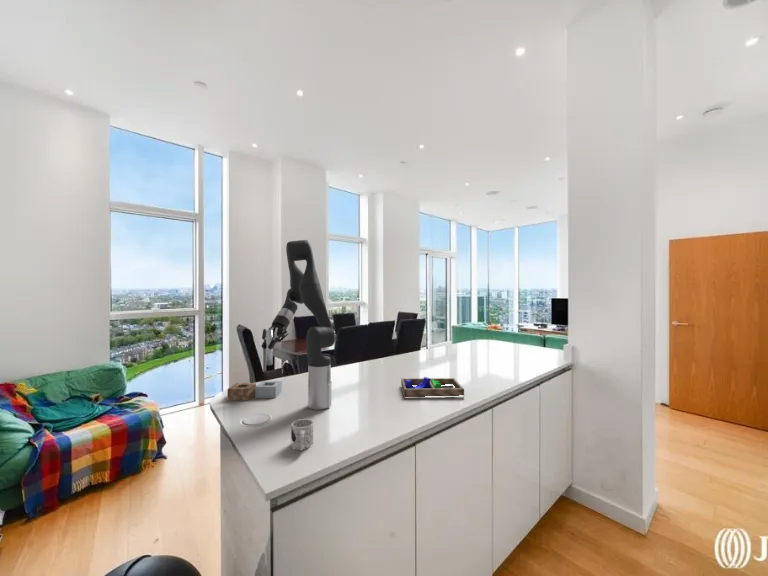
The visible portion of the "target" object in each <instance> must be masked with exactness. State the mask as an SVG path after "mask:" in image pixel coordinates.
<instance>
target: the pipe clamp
mask: <svg viewBox="0 0 768 576" xmlns="http://www.w3.org/2000/svg"><path fill="white" fill-rule="evenodd" d="M431 383H432V384H433V386H434V388H435V389H441V388H442V387H441V384H440V381H434V379H431Z"/></svg>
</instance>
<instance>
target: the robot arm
mask: <svg viewBox="0 0 768 576" xmlns="http://www.w3.org/2000/svg"><path fill="white" fill-rule="evenodd" d="M285 246H286V247H285V248H286V249H285V250H286V259H287V266H288V270H289V287H290V288H289V289H288V290H287V293H286V297H285V300H284V304H283V305H282V307H281V308H280V310H279V311H278V312H277V314H276V315H275V317H274V319H273V321H271V322H272V323H271V326H270V327H269V328H268V329H266V328H263V330H262V334H261V335H262V336H261V338H262V340H263V342H262V344H261V348H262V349H263V350H266V330H273V339H272V340H273V341H271V342H270V344H269V346H268V348H269V349H272V348H273V349H274V347H275V345H276V344H278V343H281V342H282V341H283V340H284V339H285V338H286V337H287V336H289V332H288V331H287V329H288V327H289V326H290V324H291V322H292V320H293V317H294V316H295V313H296V312H297V310H298V309H299V308H298V304H300V305H302V304H304V306H305V307H306V308H307V309H308V311H309V312H310V313H312V315H313V316H314V317H315V318H314V319H316V322H317V325H318V326H311V327H310V328H308V330H307V332H306V336H305V337H306V339H305V340H306V358H307V362H308V363H307V364H308V366H307V367H308V373H307V374H308V375H307V376H308V377H307V380H308V382H307V383H308V384H307V387H308V389H307V391H308V392H307V394H308V395H307V406H308V409H310V410H317V411H318V410H325V409H330V407H331V406H332V391H333V390H332V387H333V386H332V380H331V379H332V377H331V376H332V371H331V369H332V367H331V366H332V360H331V357H330V356H328V355H324V354H322V349H325V348H326V349H327V348H331V347H332V346H334V345H335V341H336V333H335V329H334V327H333V324H332V321H331V319H330V316H329V314H328V310H327V306H326V302H325V299H324V295H323V291H322V286H321V284H320V280H319V277H318V274H317V270H316V269H317V268H316V265H315V259H314V255H313V250H312V249H313V248H312V245H311V242H310V241H309V240H307V239H301V240H291V241H288V242H287V243H286V245H285ZM299 261H306V265H305V270H304V272H303V271H302V270H301V269H300V268H299V267H298V265H297V264H296V262H299Z"/></svg>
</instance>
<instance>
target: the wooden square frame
mask: <svg viewBox="0 0 768 576" xmlns="http://www.w3.org/2000/svg"><path fill="white" fill-rule="evenodd" d="M256 386H257V383H256V382H237V383H235V384H233V385H231V386H229V388H227V395H226V396H227V400H229V401H250V400H251V399H252V398H253V397H254V396H255V388H256ZM227 400H226V401H227Z"/></svg>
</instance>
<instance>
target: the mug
mask: <svg viewBox="0 0 768 576" xmlns="http://www.w3.org/2000/svg"><path fill="white" fill-rule="evenodd" d="M290 426H291V428H290V429H291V431H290V434H291V435H290V439H291V440H290V447H291V449H293V448H294V449H293V450H295V449H300V450H299V451H304V450H306V449H305V448H307V449H309V448H308V447H310V446H311V445H312V444H313V445H314V420H312V419H310V418H302V419H301V418H300V419H296V420H294V421H292V422H291V425H290ZM313 445H312V446H313ZM312 446H311V447H312ZM311 447H310V448H311ZM303 449H304V450H303Z"/></svg>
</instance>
